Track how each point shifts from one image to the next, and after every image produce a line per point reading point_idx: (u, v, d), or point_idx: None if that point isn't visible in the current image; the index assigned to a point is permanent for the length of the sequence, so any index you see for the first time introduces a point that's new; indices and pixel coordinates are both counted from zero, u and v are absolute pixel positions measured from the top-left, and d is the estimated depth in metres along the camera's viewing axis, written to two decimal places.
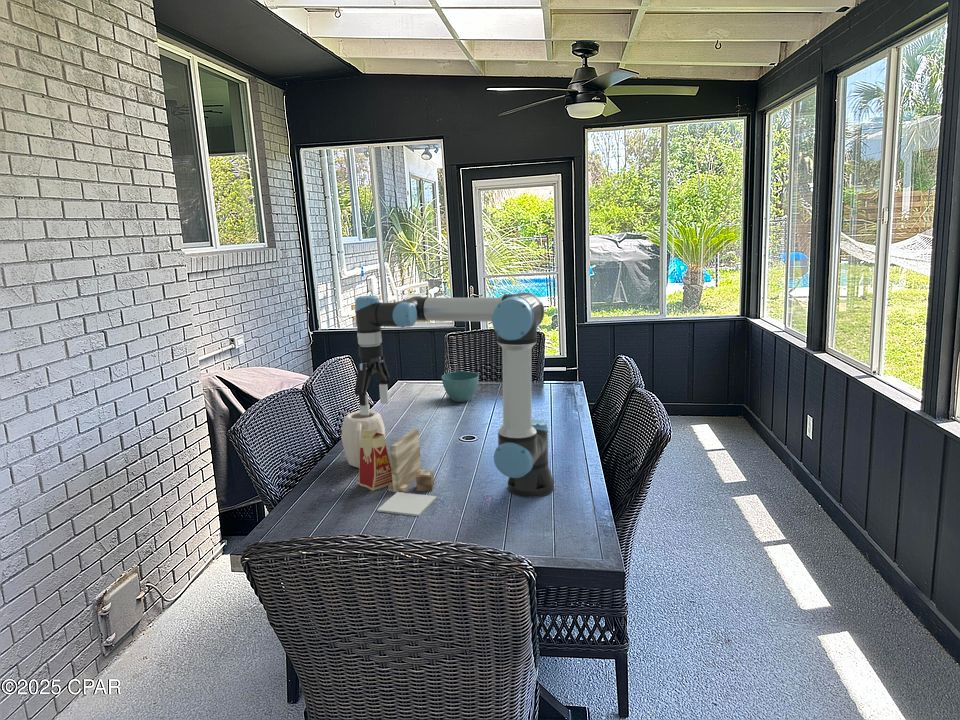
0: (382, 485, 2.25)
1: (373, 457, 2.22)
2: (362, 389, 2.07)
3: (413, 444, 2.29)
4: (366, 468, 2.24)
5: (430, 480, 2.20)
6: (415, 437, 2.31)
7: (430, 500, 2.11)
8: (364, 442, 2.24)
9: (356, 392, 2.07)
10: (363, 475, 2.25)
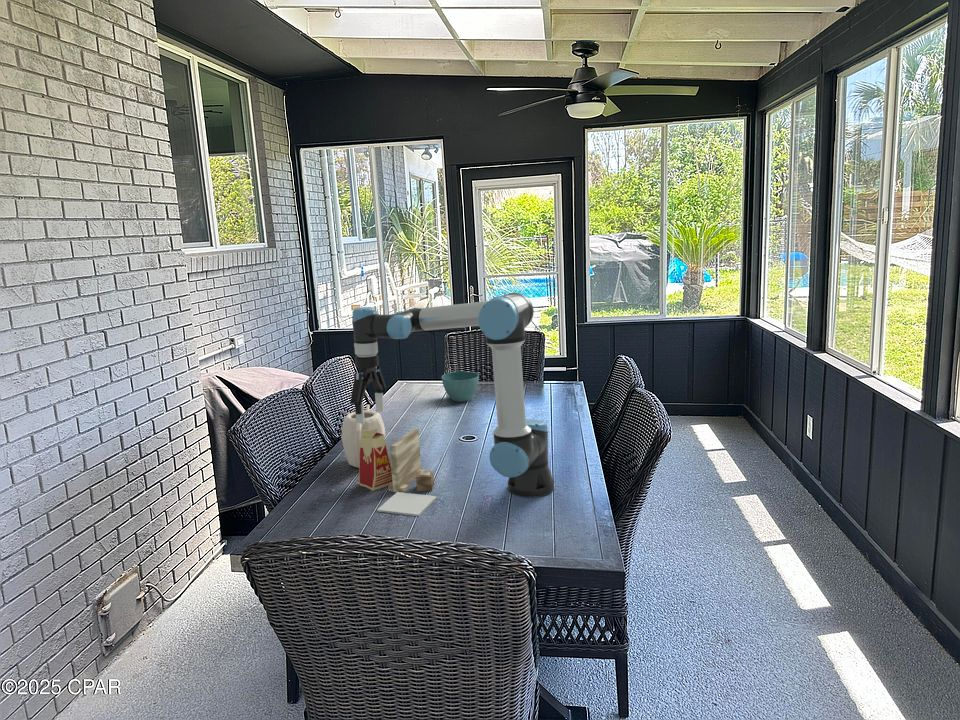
0: (382, 485, 2.25)
1: (373, 456, 2.22)
2: (358, 398, 2.13)
3: (413, 444, 2.29)
4: (366, 468, 2.24)
5: (430, 480, 2.20)
6: (415, 437, 2.31)
7: (430, 500, 2.11)
8: (364, 442, 2.24)
9: (352, 401, 2.13)
10: (363, 475, 2.25)
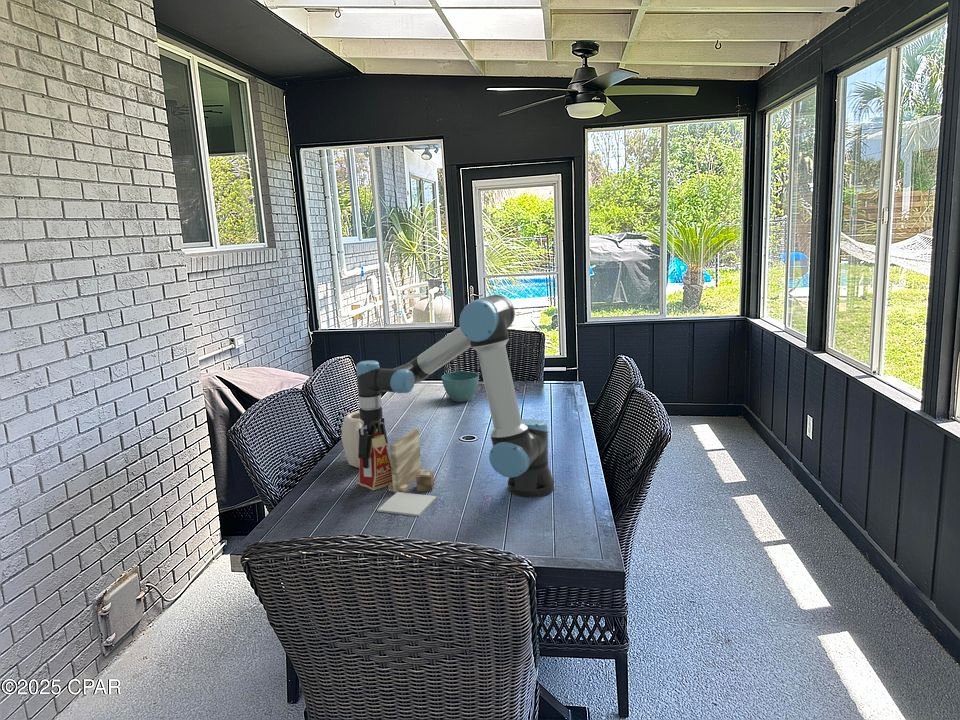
0: (382, 485, 2.25)
1: (373, 456, 2.22)
2: (365, 453, 2.18)
3: (413, 444, 2.29)
4: None
5: (430, 480, 2.20)
6: (415, 437, 2.31)
7: (430, 500, 2.11)
8: None
9: (360, 456, 2.18)
10: (363, 475, 2.25)
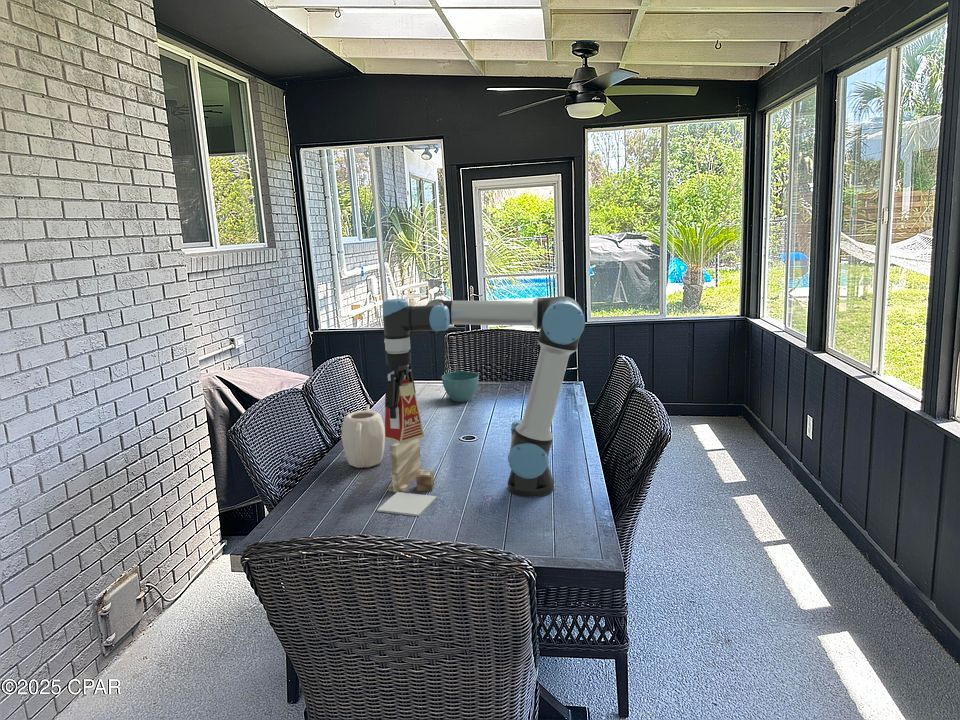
0: (410, 438, 2.02)
1: (401, 406, 1.99)
2: (393, 401, 1.96)
3: (413, 444, 2.29)
4: None
5: (430, 480, 2.20)
6: None
7: (430, 500, 2.11)
8: None
9: (387, 405, 1.96)
10: (390, 427, 2.03)
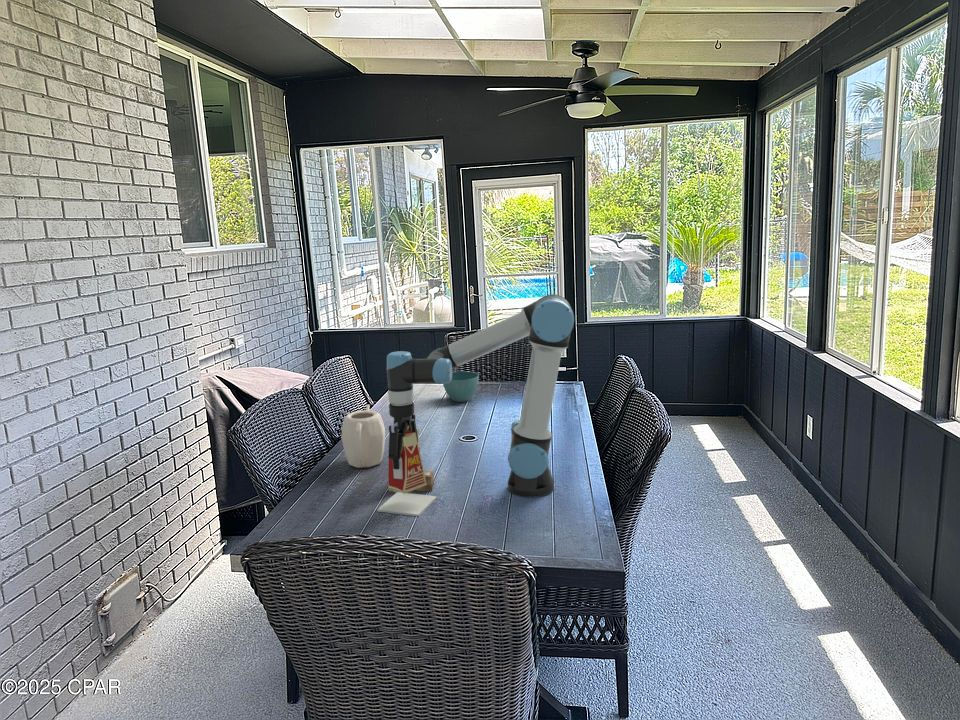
0: (413, 487, 2.05)
1: (404, 456, 2.03)
2: (396, 453, 1.99)
3: None
4: None
5: (430, 480, 2.20)
6: None
7: (430, 500, 2.11)
8: None
9: (390, 456, 1.99)
10: (393, 477, 2.06)
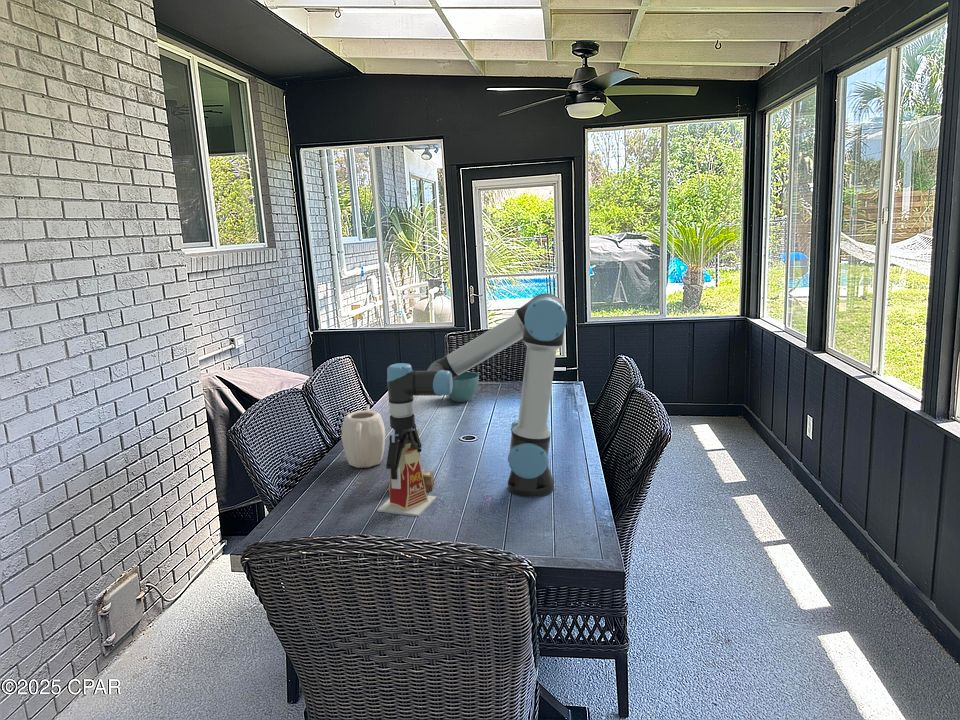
0: (415, 504, 2.07)
1: (406, 474, 2.04)
2: (394, 463, 1.98)
3: None
4: None
5: (430, 480, 2.20)
6: None
7: (430, 500, 2.11)
8: None
9: (388, 466, 1.98)
10: (395, 494, 2.07)
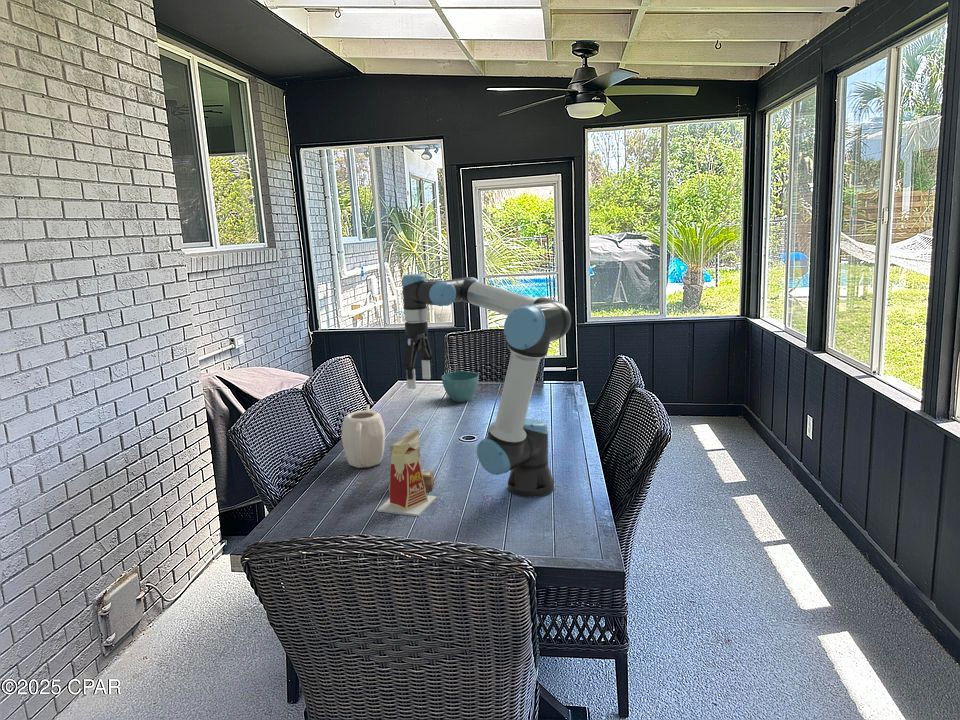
0: (415, 504, 2.07)
1: (406, 474, 2.04)
2: (410, 363, 2.15)
3: (413, 444, 2.29)
4: (397, 486, 2.06)
5: (430, 480, 2.20)
6: (415, 437, 2.31)
7: (430, 500, 2.11)
8: (395, 458, 2.06)
9: (405, 366, 2.15)
10: (394, 494, 2.07)
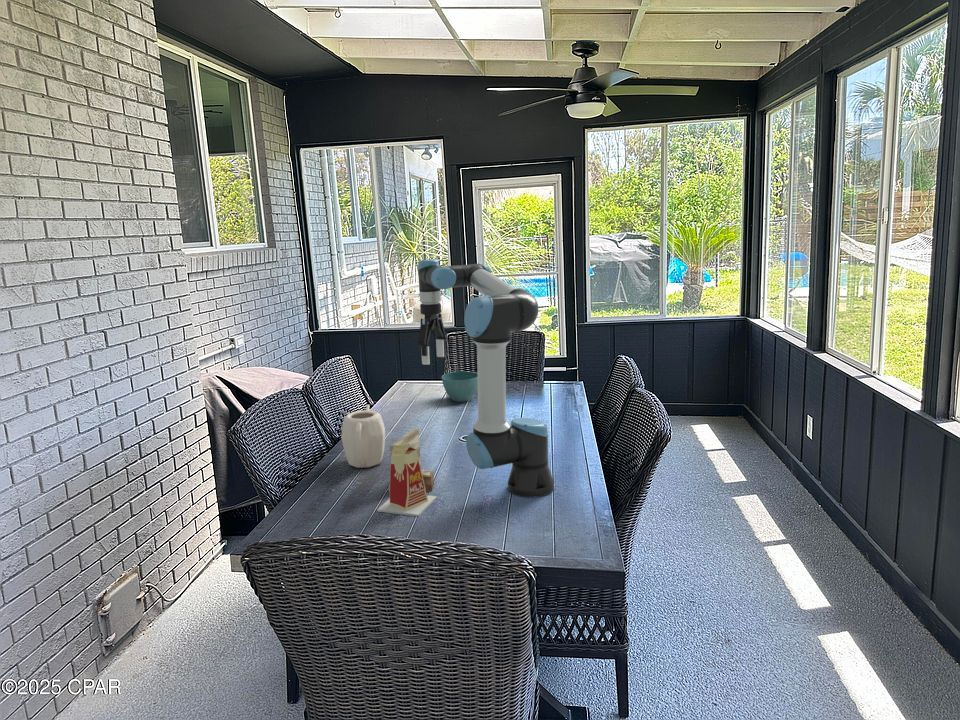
0: (415, 504, 2.07)
1: (406, 474, 2.04)
2: (425, 341, 2.35)
3: (413, 444, 2.29)
4: (397, 486, 2.06)
5: (430, 480, 2.20)
6: (415, 437, 2.31)
7: (430, 500, 2.11)
8: (395, 458, 2.06)
9: (419, 343, 2.35)
10: (394, 494, 2.07)
